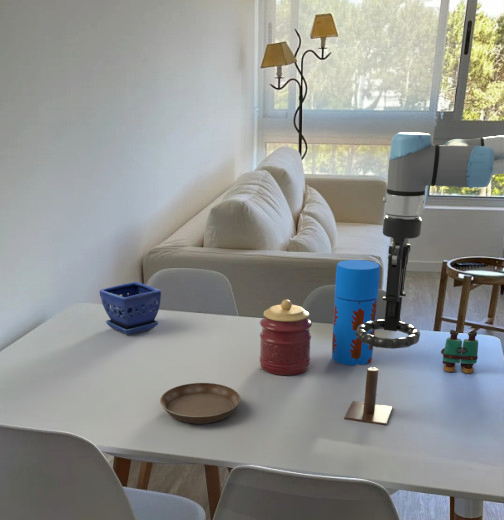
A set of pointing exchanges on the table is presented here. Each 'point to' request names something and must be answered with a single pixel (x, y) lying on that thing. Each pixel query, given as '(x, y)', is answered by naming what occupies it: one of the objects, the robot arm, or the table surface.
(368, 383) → the stand
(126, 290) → the flower pot
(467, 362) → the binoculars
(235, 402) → the plant saucer
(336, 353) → the thermos
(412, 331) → the ring
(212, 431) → the table surface
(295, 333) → the kitchen canister
